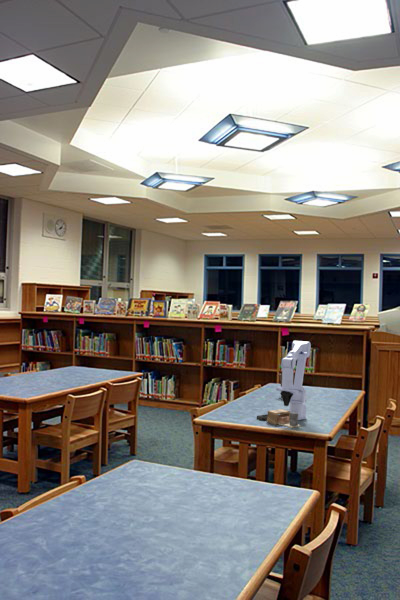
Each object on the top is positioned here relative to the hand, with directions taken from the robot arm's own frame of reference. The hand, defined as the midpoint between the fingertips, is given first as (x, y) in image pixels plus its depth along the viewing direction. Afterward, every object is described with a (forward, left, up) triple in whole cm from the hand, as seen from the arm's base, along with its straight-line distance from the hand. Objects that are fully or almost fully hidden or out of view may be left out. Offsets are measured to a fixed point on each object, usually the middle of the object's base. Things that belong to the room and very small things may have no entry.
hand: (286, 405), depth 276 cm
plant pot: (-70, -58, -10) cm, 91 cm away
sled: (0, -2, -10) cm, 10 cm away
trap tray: (0, -15, -10) cm, 18 cm away
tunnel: (0, -5, -10) cm, 11 cm away
